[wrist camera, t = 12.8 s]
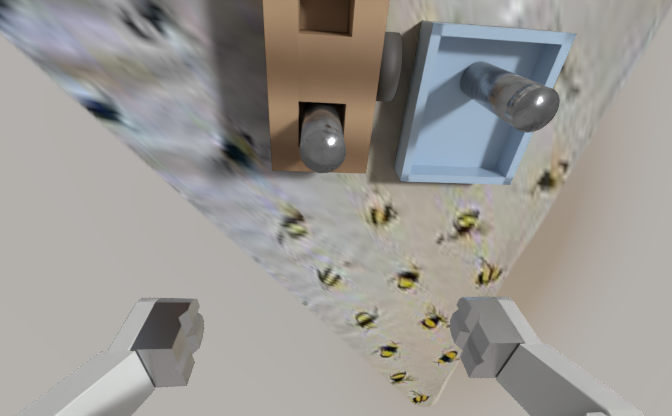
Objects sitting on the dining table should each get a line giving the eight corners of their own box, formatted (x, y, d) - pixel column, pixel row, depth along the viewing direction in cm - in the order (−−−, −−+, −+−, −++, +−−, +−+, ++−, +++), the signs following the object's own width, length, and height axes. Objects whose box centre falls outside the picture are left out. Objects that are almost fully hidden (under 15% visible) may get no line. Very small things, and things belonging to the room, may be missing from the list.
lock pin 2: (466, 59, 26) (524, 85, 19) (498, 62, 27) (568, 88, 19) (455, 95, 28) (505, 131, 21) (486, 97, 28) (546, 133, 21)
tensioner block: (270, -70, 22) (257, -91, 17) (407, -56, 23) (433, -73, 18) (279, 143, 31) (272, 170, 26) (376, 147, 31) (388, 174, 26)
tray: (421, 20, 25) (433, 22, 23) (552, 30, 26) (576, 33, 24) (393, 167, 33) (400, 181, 30) (495, 171, 34) (510, 184, 31)
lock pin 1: (303, 92, 26) (299, 128, 19) (338, 94, 26) (348, 130, 19) (303, 126, 28) (299, 172, 20) (336, 128, 28) (344, 173, 21)
